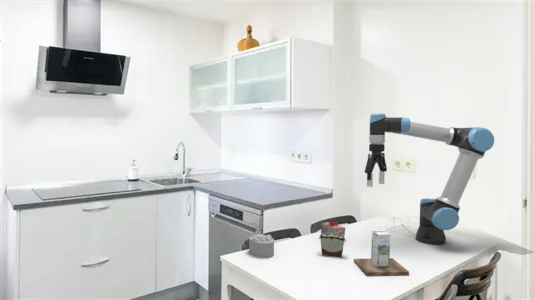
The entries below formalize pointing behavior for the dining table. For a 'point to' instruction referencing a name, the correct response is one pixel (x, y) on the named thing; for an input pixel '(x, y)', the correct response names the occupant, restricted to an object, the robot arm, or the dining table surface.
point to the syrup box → (380, 248)
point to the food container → (332, 244)
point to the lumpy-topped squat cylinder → (261, 246)
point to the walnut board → (381, 268)
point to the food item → (332, 228)
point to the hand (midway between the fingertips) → (375, 185)
